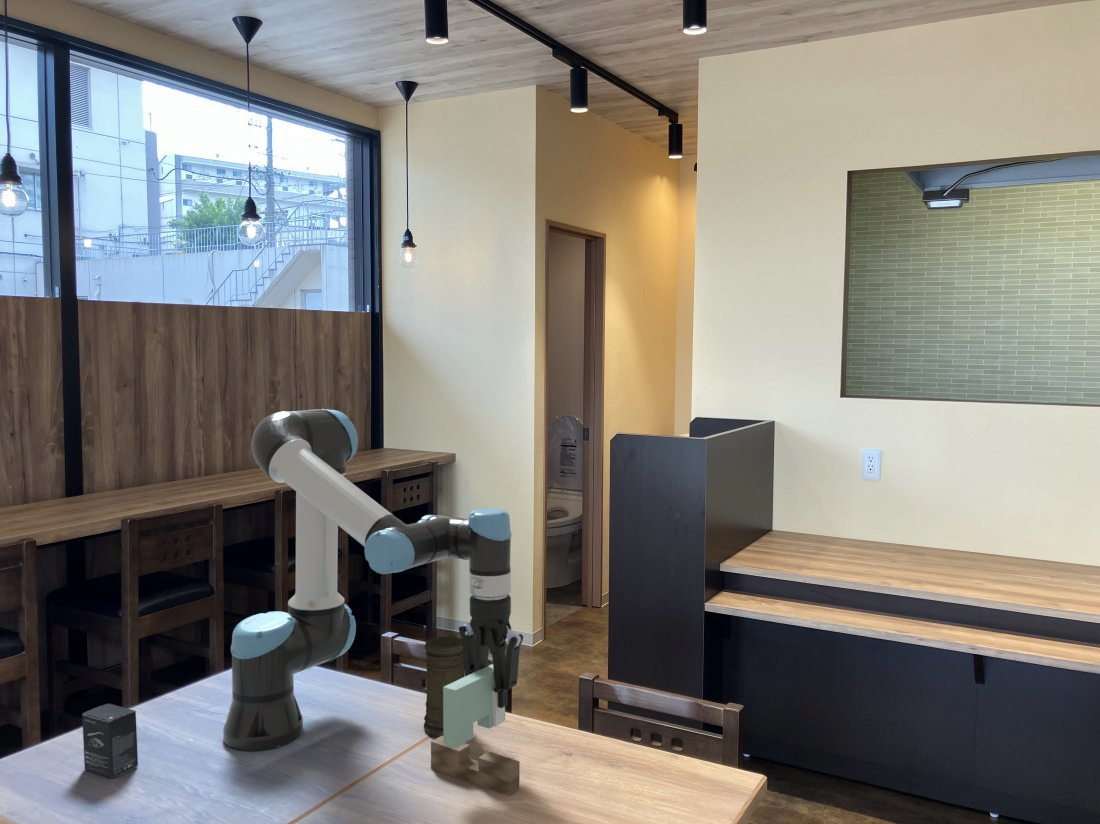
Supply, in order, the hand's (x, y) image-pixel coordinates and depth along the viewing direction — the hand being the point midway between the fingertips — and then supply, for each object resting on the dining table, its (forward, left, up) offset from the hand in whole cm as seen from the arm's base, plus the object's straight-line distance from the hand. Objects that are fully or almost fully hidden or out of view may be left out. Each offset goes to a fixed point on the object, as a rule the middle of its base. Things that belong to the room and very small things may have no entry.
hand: (490, 720), depth 155 cm
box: (-57, -40, -9) cm, 70 cm away
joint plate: (0, -5, 0) cm, 5 cm away
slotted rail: (0, -5, -9) cm, 10 cm away
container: (-18, +8, -9) cm, 22 cm away
